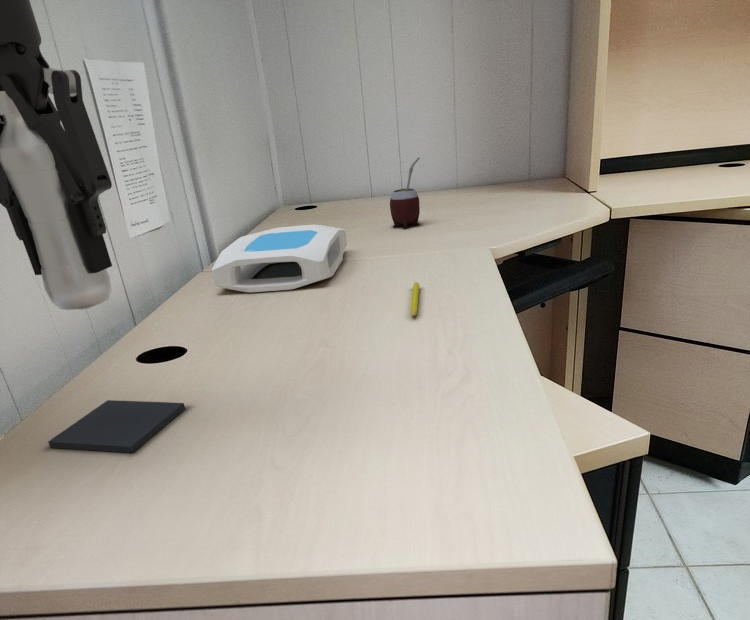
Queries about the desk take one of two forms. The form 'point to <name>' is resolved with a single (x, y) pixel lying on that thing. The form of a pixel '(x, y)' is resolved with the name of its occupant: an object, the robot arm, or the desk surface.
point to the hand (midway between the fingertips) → (73, 270)
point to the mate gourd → (405, 205)
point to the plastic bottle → (48, 214)
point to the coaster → (117, 426)
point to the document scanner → (280, 257)
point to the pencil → (414, 299)
